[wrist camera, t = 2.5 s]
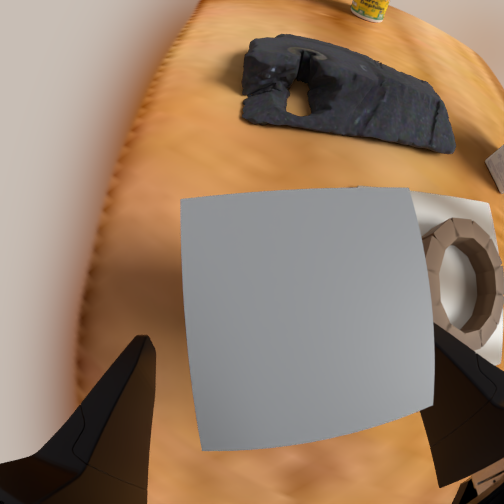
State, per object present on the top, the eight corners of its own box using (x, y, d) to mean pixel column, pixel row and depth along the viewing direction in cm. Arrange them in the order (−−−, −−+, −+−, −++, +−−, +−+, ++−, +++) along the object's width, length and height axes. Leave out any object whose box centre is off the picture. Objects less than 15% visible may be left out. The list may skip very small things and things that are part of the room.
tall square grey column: (299, 340, 17) (432, 404, 3) (238, 346, 17) (202, 450, 3) (293, 280, 18) (409, 187, 4) (232, 286, 18) (180, 199, 4)
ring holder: (496, 362, 16) (517, 364, 13) (363, 404, 16) (381, 417, 13) (485, 205, 20) (503, 194, 17) (355, 189, 19) (370, 170, 16)
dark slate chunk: (452, 186, 20) (481, 165, 16) (227, 126, 21) (222, 87, 17) (429, 86, 24) (445, 63, 19) (259, 37, 24) (260, 6, 20)
